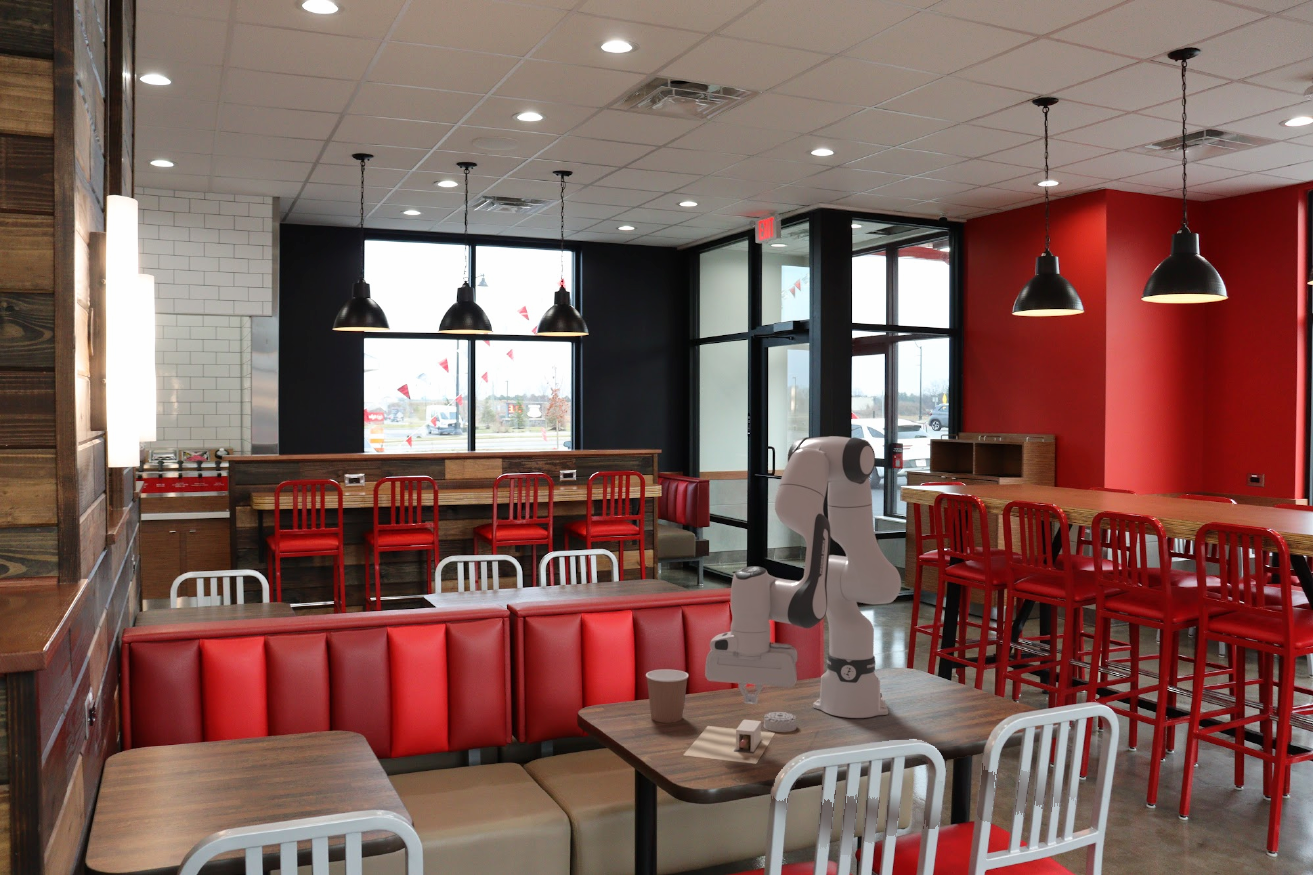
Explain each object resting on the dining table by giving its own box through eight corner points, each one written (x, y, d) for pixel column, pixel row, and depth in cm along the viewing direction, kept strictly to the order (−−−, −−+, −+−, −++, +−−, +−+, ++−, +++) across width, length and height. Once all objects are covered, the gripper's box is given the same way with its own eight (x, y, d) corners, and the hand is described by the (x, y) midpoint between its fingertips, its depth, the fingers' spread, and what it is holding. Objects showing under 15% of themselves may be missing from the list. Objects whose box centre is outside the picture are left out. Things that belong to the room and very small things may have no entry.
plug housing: (743, 738, 231) (743, 719, 231) (760, 740, 230) (761, 721, 230) (732, 753, 221) (732, 733, 221) (750, 756, 220) (751, 735, 219)
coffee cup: (696, 725, 246) (697, 675, 246) (662, 733, 240) (663, 682, 239) (670, 715, 254) (671, 667, 254) (636, 722, 248) (637, 673, 248)
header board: (707, 732, 241) (708, 713, 241) (775, 739, 236) (775, 719, 236) (682, 762, 220) (683, 741, 220) (756, 770, 215) (756, 749, 215)
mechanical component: (756, 739, 237) (800, 742, 235) (757, 720, 237) (800, 723, 235) (760, 726, 247) (802, 729, 245) (760, 708, 247) (802, 710, 245)
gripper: (799, 640, 226) (799, 702, 227) (709, 635, 232) (710, 695, 233) (795, 647, 220) (795, 711, 221) (703, 641, 226) (703, 703, 227)
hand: (750, 702), depth 227 cm, fingers closed
